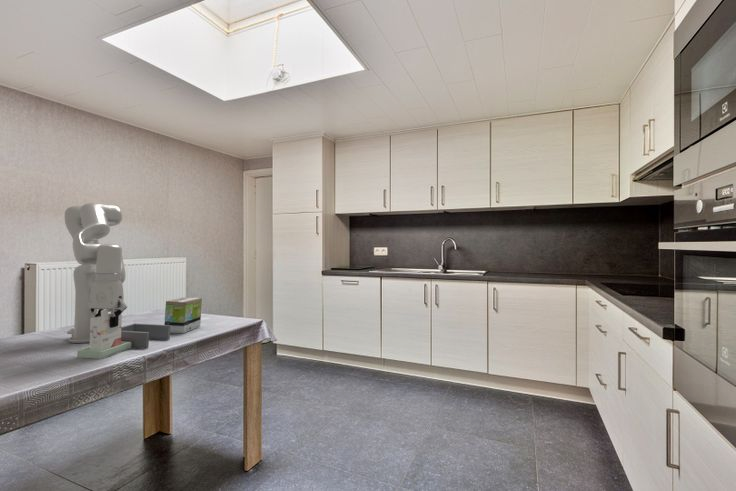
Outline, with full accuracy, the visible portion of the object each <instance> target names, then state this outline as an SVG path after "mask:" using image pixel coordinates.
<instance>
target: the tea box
mask: <svg viewBox="0 0 736 491" xmlns="http://www.w3.org/2000/svg"><path fill="white" fill-rule="evenodd" d="M202 301H203V299H202V298H201V297H186V296H185V297H180V298H174V299H171V300H170V299H169V300H166V301H165V309H164V311H165V312H164V322H163V323H164V324H163V325H170V334H185V333H188V332H189V331H191V330H194V329H197V328H200V327H201V320H202V303H203V302H202Z"/></svg>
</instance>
